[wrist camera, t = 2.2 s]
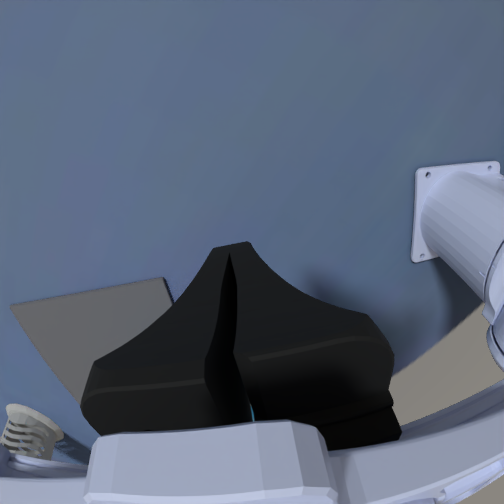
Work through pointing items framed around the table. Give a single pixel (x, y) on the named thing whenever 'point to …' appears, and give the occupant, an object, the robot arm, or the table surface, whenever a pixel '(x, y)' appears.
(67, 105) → the table surface
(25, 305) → the mat
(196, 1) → the table surface
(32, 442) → the french press
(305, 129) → the table surface
